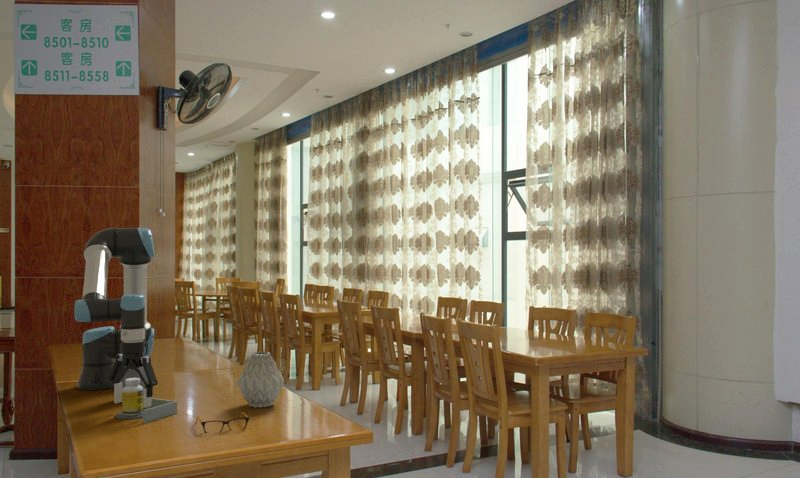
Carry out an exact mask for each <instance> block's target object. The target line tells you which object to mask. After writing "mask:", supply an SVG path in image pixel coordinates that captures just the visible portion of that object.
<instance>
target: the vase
mask: <svg viewBox="0 0 800 478" xmlns="http://www.w3.org/2000/svg"><path fill="white" fill-rule="evenodd" d="M278 368H279V367H278V365H277V362H276V361H275V359H274V358H273V356H272V355H271V352H269V351H256V352H252V353H251V356H250V357H249V358H248V361H247V362H246V363H245V366H244V369H243V372H242V373H241V374H240V375H239V378H238V380H237V386H238V388H239V390H240V392H241V395H242V397H243V399H244V401H245V402H247V406H249V407H251V408H254V409H255V408H260V409H261V408H267V407H269V408H270V407H272V406H273V405H274V404H275V401H276V399H277V398H278V397H279V395H280V393H281V390H282V387H283V385H284V384H285V380H284V377H283V374H282V373H281V371H280V370H279V369H278Z"/></svg>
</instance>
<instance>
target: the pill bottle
mask: <svg viewBox="0 0 800 478" xmlns="http://www.w3.org/2000/svg"><path fill="white" fill-rule="evenodd" d="M139 383H140V378H128V379H125V384H126V386H125V387H124V388H123V389H122V402H121V412H122V414H123V415H127V416H133V415H139V414H141V413H142V412H143V410H144V409H143V387H142V386H140V385H139Z"/></svg>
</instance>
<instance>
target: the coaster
mask: <svg viewBox="0 0 800 478" xmlns="http://www.w3.org/2000/svg"><path fill="white" fill-rule="evenodd" d="M114 418H115V419H118V420H137V419H143V412H142V413H141V414H139V415H133V416H127V415H123V414H122V411H120V412H117V413H116V414H115V415H114Z"/></svg>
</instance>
